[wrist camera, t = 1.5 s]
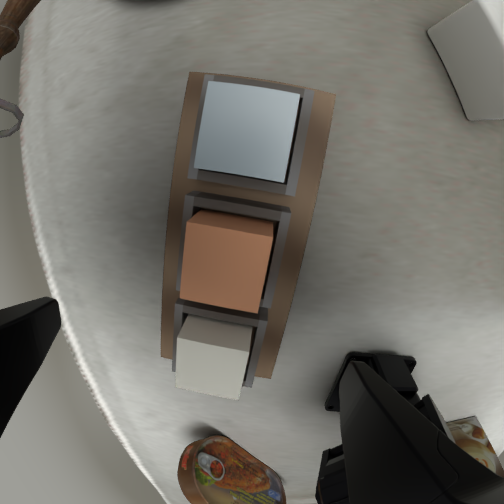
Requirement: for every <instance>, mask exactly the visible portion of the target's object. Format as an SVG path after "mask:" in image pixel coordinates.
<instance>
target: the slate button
mask: <svg viewBox="0 0 504 504" xmlns="http://www.w3.org/2000/svg"><path fill="white" fill-rule="evenodd" d="M299 98H300V94H296V93H291V92H286V91H280V90H275V89H269V88H262V87H256V86H249V85H241V84H233V83H224V82H215V81H208V86H207V91H206V96H205V102H204V107H203V113H202V119H201V125H200V130H199V137H198V143H197V149H196V156H195V162H194V168H199V169H206V170H213V171H219V172H225V173H232V174H238V175H244V176H250V177H255V178H261V179H266V180H272V181H277V182H282V183H284V179H285V174H286V169H287V164H288V158H289V153H290V148H291V142H292V137H293V131H294V126H295V120H296V115H297V109H298V104H299Z"/></svg>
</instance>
